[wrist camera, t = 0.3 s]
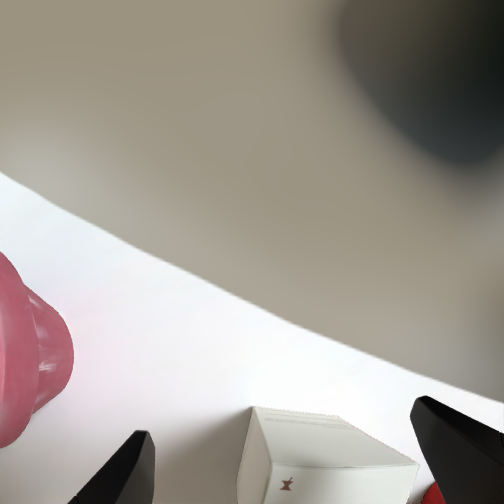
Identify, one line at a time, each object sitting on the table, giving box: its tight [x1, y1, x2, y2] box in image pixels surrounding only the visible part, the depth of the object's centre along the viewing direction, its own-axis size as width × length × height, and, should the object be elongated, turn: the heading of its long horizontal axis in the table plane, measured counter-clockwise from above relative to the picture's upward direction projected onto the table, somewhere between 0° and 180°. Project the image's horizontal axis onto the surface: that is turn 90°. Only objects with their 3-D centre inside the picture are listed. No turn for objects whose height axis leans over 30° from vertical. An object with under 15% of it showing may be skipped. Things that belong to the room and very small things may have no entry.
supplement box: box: [236, 406, 420, 504], centre depth 15 cm, size 7×7×13 cm
